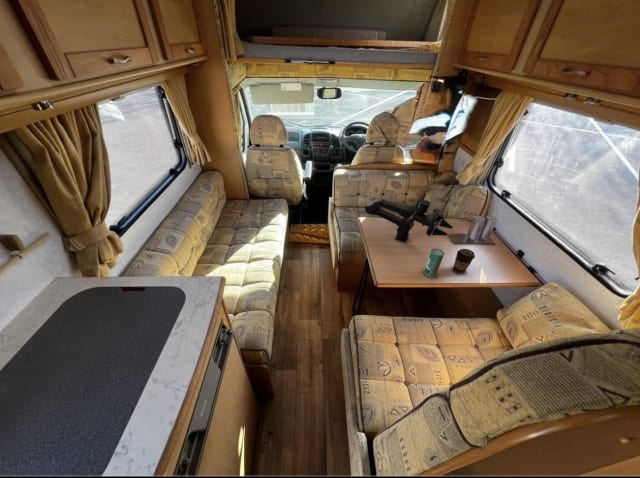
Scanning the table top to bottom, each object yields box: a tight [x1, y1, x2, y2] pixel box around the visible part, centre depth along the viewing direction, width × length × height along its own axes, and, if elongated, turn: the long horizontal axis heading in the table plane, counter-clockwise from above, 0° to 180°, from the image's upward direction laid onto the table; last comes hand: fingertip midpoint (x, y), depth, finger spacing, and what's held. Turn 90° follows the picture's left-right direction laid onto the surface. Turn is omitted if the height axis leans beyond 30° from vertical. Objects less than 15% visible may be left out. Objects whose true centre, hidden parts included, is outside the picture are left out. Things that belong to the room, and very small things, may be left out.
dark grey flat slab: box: [448, 233, 496, 246], centre depth 166 cm, size 25×10×1 cm, turn 89°
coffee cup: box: [452, 248, 476, 275], centre depth 138 cm, size 9×8×13 cm
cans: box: [466, 215, 498, 241], centre depth 161 cm, size 14×6×15 cm, turn 89°
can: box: [423, 247, 445, 279], centre depth 135 cm, size 6×6×15 cm
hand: (450, 231), depth 145 cm, fingers open, 9 cm apart
